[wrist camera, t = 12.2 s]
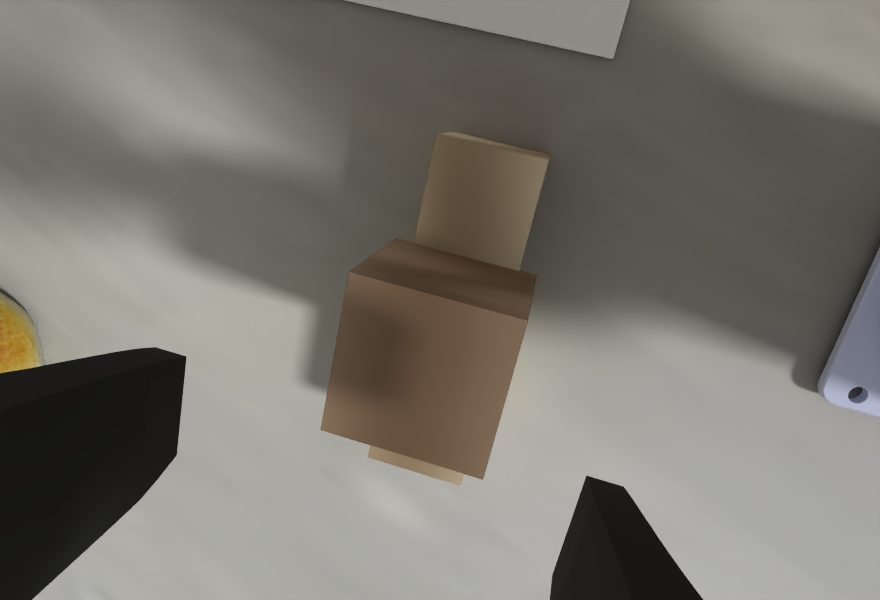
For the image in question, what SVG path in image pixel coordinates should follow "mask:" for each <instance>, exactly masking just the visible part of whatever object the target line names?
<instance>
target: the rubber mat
mask: <svg viewBox="0 0 880 600" xmlns="http://www.w3.org/2000/svg"><path fill="white" fill-rule="evenodd" d="M344 1H349V2H353V3H358V4H362V5H367V6H372V7H376V8H381V9H385V10H390V11H394V12H399V13H404V14H408V15H413V16H417V17H422V18H426V19H431V20H435V21H440V22H445V23H449V24H454V25H458V26H463V27H467V28H472V29H476V30H481V31H486V32H490V33H495V34H499V35H504V36H508V37H513V38H518V39H522V40H527V41H531V42H536V43H540V44H545V45H549V46H554V47H559V48H563V49H568V50H572V51H577V52H581V53H586V54H591V55H595V56H600V57H604V58H609V59H613V58H614V55H615V51H616V48H617V44H618V41H619V37H620V34H621V30H622V27H623V23H624V20H625V17H626V13H627V10H628V6H629V3H630V0H344Z"/></svg>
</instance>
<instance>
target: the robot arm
mask: <svg viewBox="0 0 880 600" xmlns="http://www.w3.org/2000/svg"><path fill="white" fill-rule="evenodd" d="M185 365H186V356H182V355H179V354H176V353H172V352H169V351H166V350H162V349H159V348H156V347H155V348H141V349H133V350H126V351H120V352H114V353H108V354H103V355H97V356H92V357H87V358H81V359H76V360H71V361H66V362H60V363H55V364H50V365H44V366H39V367H34V368H28V369H22V370H16V371H10V372H4V373H0V600H32V599H33V598H34V597H35V596H36V595H37V594H39V593H40V592H41V591H42V590H43V589H44V588H45V587H46V586H47V585H48V584H49V583H51V582H52V581H53V580H54V579H55V578H56V577H57V576H58V575H59V574H60V573H61V572H63V571H64V570H65V569H66V568H67V567H68V566H69V565H70V564H71V563H72V562H73V561H74V560H76V559H77V558H78V557H79V556H80V555H81V554H82V553H83V552H84V551H85V550H87V549H88V548H89V547H90V546H91V545H92V544H93V543H94V542H95V541H96V540H97V539H99V538H100V537H101V536H102V535H103V534H104V533H105V532H106V531H107V530H108V529H109V528H110V527H111V526H113V525H114V524H115V523H116V522H117V521H118V520H119V519H120V518H121V517H122V516H123V515H124V514H125V513H126V512H128V511H129V510H130V509H131V508H132V507H133V506H134V505H135V504H136V503H137V502H138V501H139V500H140V499H141V498H142V497H143V496H144V494H145V493H146V492H147V491H148V490H149V489H150V487H151V486H152V485H153V484H154V483H155V482H156V480H157V479H158V478H159V477H160V475H161V474H162V473H163V472H164V470H165V469H166V468H167V467H168V465H169V464H170V463H171V462H172V460H173V459H174V458H175V456H176V455H177V446H178V436H179V426H180V415H181V405H182V395H183V385H184V375H185ZM855 387H862V392H861V393H860V395H859V396H857V397H854V398H848V393H849V392H850V390H851V389H853V388H855ZM817 388H818V391H819V394H820V395H821V396H822V397H823V398H824V399H825V400H826V401H827V402H829V403H831V404H833V405H836V406H840V407H844V408H847V409H851V410H855V411H858V412H862V413H866V414H869V415H873V416H877V417H880V247H879V249H878V252H877V254H876V256H875V258H874V260H873V263H872V265H871V267H870V269H869V271H868V274H867V276H866V278H865V280H864V282H863V285H862V287H861V289H860V291H859V293H858V296H857V298H856V300H855V302H854V304H853V307H852V309H851V311H850V313H849V315H848V318H847V320H846V322H845V324H844V326H843V329H842V331H841V333H840V335H839V337H838V339H837V342H836V344H835V346H834V348H833V350H832V353H831V355H830V357H829V359H828V361H827V364H826V366H825V368H824V370H823V372H822V375H821V377H820V379H819V381H818V386H817ZM550 600H703V599H702V598H701V596H700V595H699V594H698V592H697V591H696V590H695V588H694V587H693V586H692V584H691V583H690V582H689V580H688V579H687V578H686V576H685V575H684V574H683V572H682V571H681V569H680V568H679V567H678V565H677V564H676V562H675V561H674V560H673V558H672V557H671V555H670V554H669V553H668V551H667V550H666V548H665V547H664V545H663V544H662V542H661V541H660V540H659V538H658V537H657V535H656V534H655V532H654V531H653V529H652V528H651V526H650V525H649V523H648V522H647V520H646V519H645V517H644V516H643V514H642V513H641V511H640V510H639V508H638V507H637V505H636V504H635V502H634V501H633V499H632V498H631V496H630V495H629V493H628V492H627V491H626V489H625V488H624V487H623V486H619V485H616V484H612V483H609V482H606V481H602V480H599V479H596V478H592V477H589V476H586V479H585V482H584V485H583V488H582V491H581V493H580V496H579V499H578V502H577V505H576V508H575V511H574V514H573V517H572V520H571V523H570V526H569V528H568V531H567V534H566V537H565V540H564V543H563V546H562V549H561V552H560V555H559V558H558V561H557V563H556V566H555V569H554V572H553V576H552V585H551V594H550Z"/></svg>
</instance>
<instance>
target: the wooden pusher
mask: <svg viewBox="0 0 880 600" xmlns="http://www.w3.org/2000/svg"><path fill="white" fill-rule="evenodd" d="M550 157H551V154H546V153H542V152H538V151H534V150H530V149H526V148H521V147H517V146H513V145H509V144H505V143H501V142H497V141H492V140H488V139H484V138H480V137H476V136H472V135H467V134H463V133H459V132H447V133H439V134H436V138H435V143H434V148H433V152H432V157H431V162H430V166H429V171H428V176H427V181H426V185H425V190H424V195H423V199H422V204H421V209H420V214H419V218H418V223H417V228H416V232H415V237H414V242H413V243H411V242H407V241H404V240H400V239H395V240H393V241H392V242H391V243H389V244H388V245H386V246H385V247H383V248H382V249H381V250H379V251H378V252H376V253H375V254H374V255H372V256H371V257H369V258H368V259H367V260H365V261H364V262H362V263H361V264H360V265H358V266H357V267H355V268H354V269H353V270H351V271H350V272H349V276H348V281H347V287H346V292H345V298H344V303H343V309H342V314H341V320H340V325H339V331H338V336H337V342H336V347H335V353H334V358H333V364H332V369H331V375H330V380H329V386H328V391H327V397H326V402H325V408H324V413H323V419H322V425H321V430H322V431H326V432H329V433H332V434H335V435H339V436H342V437H345V438H349V439H352V440H355V441H358V442H362V443H365V444H368V445H370V450H369V454H368V457H369V458H372V459H376V460H379V461H382V462H385V463H389V464H392V465H395V466H398V467H402V468H405V469H408V470H411V471H414V472H418V473H421V474H424V475H427V476H431V477H434V478H437V479H440V480H444V481H447V482H450V483H453V484H457V485H461V482H462V479H463V475H464V474H466V475H469V476H473V477H476V478H479V479H482V480H483V478H484V474H485V471H486V467H487V464H488V460H489V457H490V453H491V450H492V446H493V442H494V439H495V435H496V432H497V428H498V425H499V421H500V418H501V414H502V411H503V407H504V404H505V400H506V397H507V393H508V390H509V386H510V382H511V379H512V375H513V372H514V368H515V365H516V361H517V358H518V354H519V351H520V347H521V344H522V340H523V337H524V333H525V329H526V326H527V322H528V318H529V313H530V307H531V302H532V297H533V292H534V287H535V281H536V275H532V274H528V273H525V272H521V271H520V267H521V263H522V260H523V256H524V252H525V249H526V245H527V241H528V238H529V234H530V230H531V227H532V223H533V219H534V216H535V212H536V208H537V204H538V201H539V197H540V193H541V190H542V186H543V182H544V179H545V175H546V171H547V168H548V164H549V160H550Z"/></svg>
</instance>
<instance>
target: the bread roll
mask: <svg viewBox="0 0 880 600" xmlns="http://www.w3.org/2000/svg"><path fill="white" fill-rule="evenodd" d="M39 366H43V350H42V346H41V342H40V338H39V335H38V332H37V330H36V327H35V325H34V323H33V322H32V320H31V318H30V316H29V314H28V313H27V312H26V311H25V310H24V309H23V308H21V307H20V306H19V305H18V304H17V303H15V302H14V301H12V300H11V299H10V298H8V297H7V296H5V295H4V294H2V293H1V292H0V373H4V372H10V371H16V370H22V369H28V368H34V367H39Z"/></svg>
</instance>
